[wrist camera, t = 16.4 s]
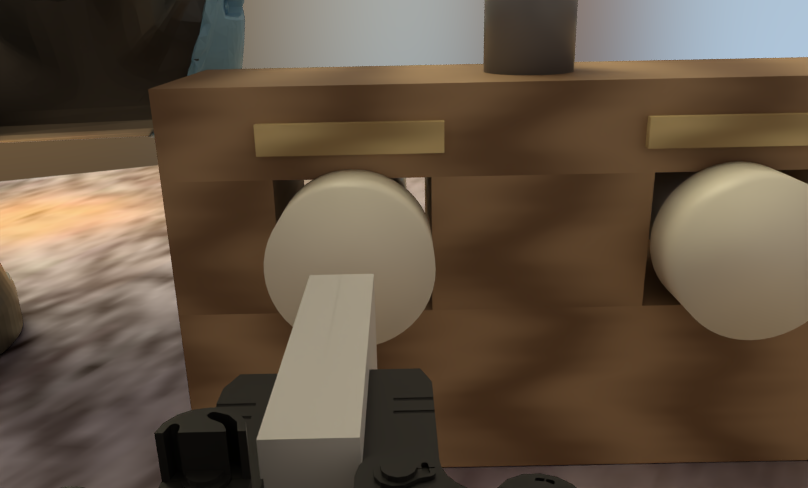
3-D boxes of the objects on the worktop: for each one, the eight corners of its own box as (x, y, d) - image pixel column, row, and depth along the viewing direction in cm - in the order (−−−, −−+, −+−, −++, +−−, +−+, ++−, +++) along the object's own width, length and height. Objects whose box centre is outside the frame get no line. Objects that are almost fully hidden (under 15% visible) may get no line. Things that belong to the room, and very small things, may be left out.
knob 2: (668, 341, 22) (686, 180, 20) (561, 207, 37) (566, 107, 35) (833, 338, 22) (865, 176, 20) (660, 205, 37) (671, 105, 35)
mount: (197, 477, 26) (144, 90, 22) (240, 378, 33) (206, 69, 28) (865, 463, 26) (954, 73, 22) (768, 368, 33) (820, 57, 28)
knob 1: (271, 349, 22) (256, 189, 20) (322, 212, 37) (316, 112, 35) (436, 346, 22) (434, 185, 20) (421, 210, 37) (420, 110, 35)
